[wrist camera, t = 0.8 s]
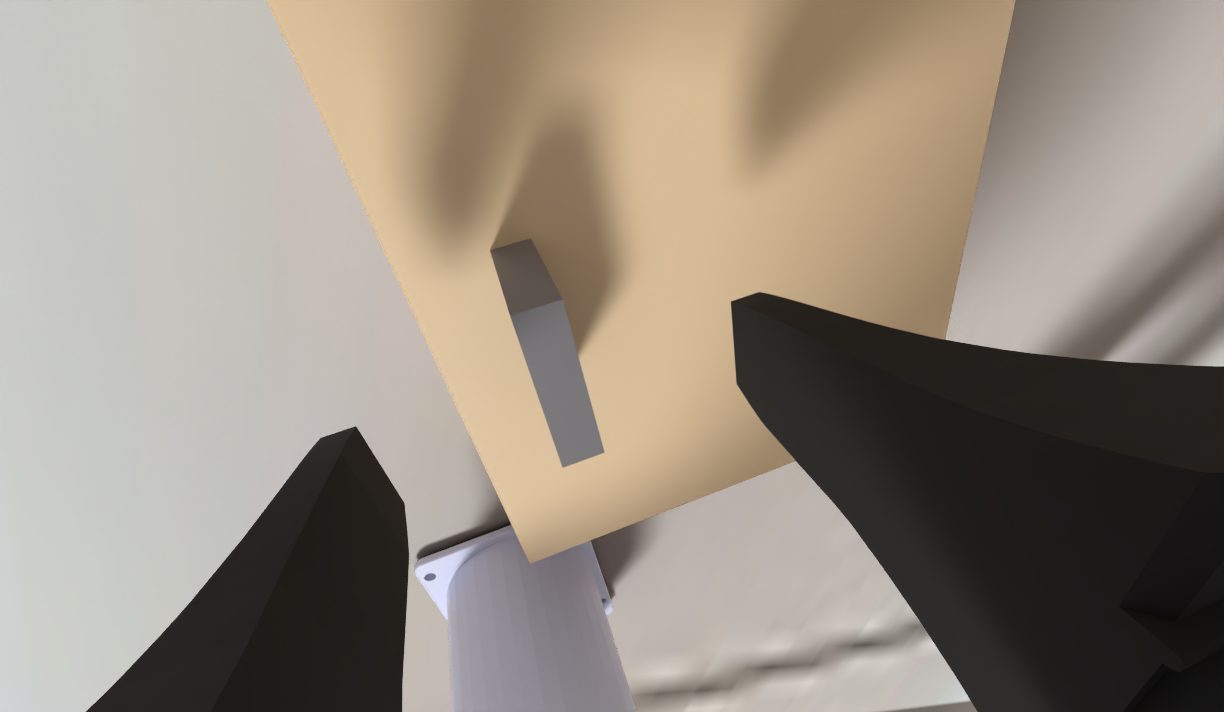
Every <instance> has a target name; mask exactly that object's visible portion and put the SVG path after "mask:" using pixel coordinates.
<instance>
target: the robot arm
mask: <svg viewBox="0 0 1224 712" xmlns="http://www.w3.org/2000/svg"><path fill="white" fill-rule="evenodd" d="M731 312H732V326H733V341H734V355H735V369H736V384H737V386H738V387H739V389H740V390H741V392H742V393H743V395H744V396H745V398H746V399H747V401H748V403H749V404H750V406H751V407H752V409H753V410H754V411H755V413H756V414H757V416H758V417H759V419H760V420H761V422H762V423H763V424H764V425H765V426H766V428H767V429H768V430H769V431H770V432H771V433H772V434H773V436H774V437H775V438H776V439H777V440H778V441H779V442H780V444H781V445H782V446H783V447H784V448H785V449H786V450H787V451H788V453H789V454H790V455H791V456H792V457H793V458H794V459H795V460H796V461H797V463H798V464H799V465H800V466H801V467H802V468H803V469H804V470H805V471H806V473H807V474H808V475H809V476H810V477H811V478H812V479H813V480H814V481H815V483H816V484H817V485H818V486H819V487H820V488H821V489H822V490H823V492H824V493H825V494H826V495H827V496H828V497H829V498H830V499H831V500H832V502H833V503H834V504H835V505H836V506H837V507H838V509H839V510H840V511H841V512H842V513H843V515H844V516H845V517H846V518H847V519H848V521H849V522H850V523H851V524H852V526H853V527H854V528H855V530H856V531H857V533H858V534H859V535H860V537H861V538H862V539H863V541H864V542H865V543H866V545H867V546H868V548H869V549H870V550H871V552H872V553H873V554H874V556H875V557H876V559H877V560H878V561H879V563H880V564H881V565H882V567H883V568H884V570H885V571H886V573H887V574H888V575H889V577H890V578H891V580H892V581H893V583H894V584H895V586H896V587H897V588H898V590H899V591H900V593H901V594H902V596H903V597H904V599H905V600H906V601H907V603H908V604H909V606H910V607H911V609H912V610H913V612H914V613H915V615H916V616H917V617H918V619H919V620H920V622H921V624H922V625H923V627H924V628H925V630H926V631H927V633H928V634H929V636H930V637H931V639H932V640H933V642H934V643H935V645H936V647H937V648H938V650H939V651H940V653H941V654H942V656H943V657H944V659H945V660H946V662H947V663H948V665H949V666H950V668H951V670H952V671H953V673H954V674H955V676H956V677H957V679H958V680H959V682H960V684H961V685H962V687H963V689H964V690H965V692H966V693H967V695H968V697H969V698H970V700H971V702H972V703H973V705H974V706H975V708H976V710H977V711H978V712H1224V367H1213V366H1186V365H1165V364H1145V363H1127V362H1114V361H1100V360H1088V359H1078V358H1069V357H1059V356H1050V355H1040V354H1031V353H1024V352H1016V351H1009V350H1002V349H996V348H990V347H984V346H978V345H972V344H966V343H960V342H954V341H949V340H944V339H939V338H934V337H929V336H925V335H920V334H916V333H912V332H908V331H903V330H899V329H895V328H891V327H887V326H883V325H879V324H875V323H871V322H868V321H864V320H860V319H857V318H853V317H849V316H846V315H842V314H839V313H835V312H832V311H829V310H825V309H822V308H818V307H815V306H811V305H808V304H805V303H801V302H798V301H794V300H791V299H787V298H783V297H780V296H776V295H772V294H767V293H762V292H758V293H755V294H752V295H749V296H746V297H743V298H740V299H737V300H734V301H731ZM408 565H409V549H408V535H407V525H406V515H405V505H404V502H403V500H402V499H401V497H400V496H399V494H398V492H397V491H396V489H395V488H394V486H393V484H392V483H391V481H390V480H389V478H388V476H387V475H386V473H385V472H384V470H383V468H382V467H381V465H380V464H379V462H378V461H377V459H376V457H375V456H374V454H373V453H372V451H371V449H370V448H369V446H368V445H367V443H366V441H365V440H364V438H363V437H362V435H361V433H360V432H359V430H358V429H357V427H353V428H350V429H347V430H344V431H341V432H338V433H335V434H332V435H329V436H326V437H323V438H320V439H319V441H318V442H317V443H316V444H315V445H314V446H313V447H312V449H311V450H310V451H309V452H308V454H307V455H306V456H305V457H304V459H303V460H302V461H301V463H300V464H299V465H298V467H297V468H296V469H295V471H294V472H293V473H292V475H291V476H290V477H289V479H288V480H287V481H286V483H285V484H284V485H283V487H282V488H281V489H280V491H279V492H278V493H277V495H276V496H275V497H274V498H273V500H272V501H271V502H270V504H269V505H268V506H267V508H266V509H265V510H264V512H263V513H262V514H261V516H260V517H259V518H258V519H257V521H256V522H255V523H254V525H253V526H252V527H251V529H250V530H249V531H248V533H247V534H246V535H245V536H244V538H243V539H242V540H241V541H240V543H239V544H238V545H237V546H236V547H235V549H234V550H233V551H232V552H231V554H230V555H229V556H228V557H227V558H226V560H225V561H224V562H223V563H222V565H221V566H220V567H219V568H218V569H217V571H216V572H215V573H214V574H213V575H212V577H211V578H210V579H209V580H208V582H207V583H206V584H205V585H204V586H203V588H202V589H201V590H200V591H199V592H198V594H197V595H196V596H195V597H194V599H193V600H192V601H191V602H190V603H189V604H188V605H187V607H186V608H185V609H184V610H183V611H182V612H181V613H180V615H179V616H178V617H177V618H176V619H175V620H174V621H173V622H172V623H171V625H170V626H169V627H168V628H167V629H166V630H165V631H164V632H163V633H162V634H161V636H160V637H159V638H158V639H157V640H156V641H155V642H154V643H153V644H152V645H151V646H150V647H149V648H148V649H147V650H146V651H145V652H144V654H143V655H142V656H141V657H140V658H139V659H138V660H137V661H136V662H135V663H134V664H133V665H132V666H131V667H130V668H129V669H128V670H127V672H126V673H125V674H124V675H123V676H122V677H121V678H120V679H119V680H118V681H117V682H116V683H115V684H114V685H113V686H112V687H111V688H110V689H109V690H108V691H107V692H106V693H105V694H104V695H103V696H102V697H101V698H100V699H99V700H98V701H97V702H96V703H95V704H93V705H92V706H91V707H90V708H89V709H88V710H87V711H86V712H402V678H403V660H404V642H405V624H406V606H407V587H408ZM414 572H415V575H416V576H417V577H418V579H419V580H420V582H421V583H422V585H423V586H424V588H425V589H426V591H427V592H428V593H429V595H430V596H431V598H432V599H433V601H434V602H435V604H436V605H437V606H438V608H439V609H440V611H441V612H442V614H443V615H444V617H445V618H446V620H447V621H448V640H449V663H450V687H451V710H452V712H637V711H636V708H635V705H634V702H633V699H632V695H631V692H630V689H629V686H628V683H627V680H626V676H625V673H624V670H623V667H622V664H621V661H620V657H619V654H618V651H617V648H616V645H615V641H614V638H613V635H612V632H611V629H610V626H609V622H608V619H607V616H606V615H608V614H610V613H611V612H612V610H613V605H612V602H611V599H610V596H609V593H608V590H607V587H606V584H605V581H604V578H603V575H602V572H601V569H600V566H599V563H598V561H597V558H596V555H595V552H594V549H593V546H592V543H591V540H590V541H588V542H585V543H582V544H580V545H577V546H575V547H572V548H570V549H567V550H564V551H562V552H559V553H557V554H554V555H551V556H549V557H546V558H544V559H541V560H539V561H536V562H533V563H531V564H530V563H529V561H528V559H527V557H526V555H525V552H524V550H523V548H522V546H521V544H520V542H519V540H518V537H517V535H516V533H515V531H514V529H513V527H512V525H509V526H507V527H504V528H501V529H498V530H496V531H493V532H490V533H488V534H485V535H482V536H480V537H477V538H474V539H472V540H469V541H466V542H464V543H461V544H458V545H456V546H453V547H450V548H448V549H445V550H442V551H440V552H437V553H434V554H432V555H429V556H426V557H424V558H421V559H419V560H418V561H417V562H416V563H415V566H414ZM429 573H431V574H429Z"/></svg>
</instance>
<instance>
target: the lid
mask: <svg viewBox="0 0 1224 712" xmlns="http://www.w3.org/2000/svg"><path fill="white" fill-rule="evenodd" d="M1015 1H1016V0H267V2H268V4H269V6H270V8H271V10H272V13H273V15H274V17H275V19H276V21H277V23H278V25H279V28H280V30H281V32H282V34H283V36H284V38H285V40H286V43H287V45H288V47H289V49H290V51H291V53H292V55H293V58H294V60H295V62H296V64H297V66H298V68H299V70H300V73H301V75H302V77H303V79H304V81H305V83H306V85H307V88H308V90H309V92H310V94H311V96H312V98H313V100H314V103H315V105H316V107H317V109H318V111H319V113H320V115H321V118H322V120H323V122H324V124H325V126H326V128H327V130H328V133H329V135H330V137H331V139H332V141H333V143H334V145H335V148H336V150H337V152H338V154H339V156H340V158H341V160H342V162H343V165H344V167H345V169H346V171H347V173H348V175H349V177H350V180H351V182H352V184H353V186H354V188H355V190H356V192H357V195H358V197H359V199H360V201H361V203H362V205H363V207H364V210H365V212H366V214H367V216H368V218H369V220H370V222H371V225H372V227H373V229H374V231H375V233H376V235H377V237H378V240H379V242H380V244H381V246H382V248H383V250H384V252H385V255H386V257H387V259H388V261H389V263H390V265H391V267H392V270H393V272H394V274H395V276H396V278H397V280H398V282H399V285H400V287H401V289H402V291H403V293H404V295H405V297H406V300H407V302H408V304H409V306H410V308H411V310H412V312H413V315H414V317H415V319H416V321H417V323H418V325H419V327H420V330H421V332H422V334H423V336H424V338H425V340H426V342H427V345H428V347H429V349H430V351H431V353H432V355H433V357H434V360H435V362H436V364H437V366H438V368H439V370H440V372H441V375H442V377H443V379H444V381H445V383H446V385H447V387H448V390H449V392H450V394H451V396H452V398H453V400H454V402H455V405H456V407H457V409H458V411H459V413H460V415H461V417H462V420H463V422H464V424H465V426H466V428H467V430H468V432H469V435H470V437H471V439H472V441H473V443H474V445H475V447H476V450H477V452H478V454H479V456H480V458H481V460H482V462H483V465H484V467H485V469H486V471H487V473H488V475H489V477H490V480H491V482H492V484H493V486H494V488H495V490H496V492H497V495H498V497H499V499H500V501H501V503H502V505H503V507H504V510H505V512H506V514H507V516H508V518H509V520H510V522H511V525H512V527H513V529H514V531H515V533H516V535H517V537H518V540H519V542H520V544H521V546H522V548H523V550H524V552H525V555H526V557H527V559H528V561H529V563H530V564H531V563H533V562H536V561H539V560H541V559H544V558H546V557H549V556H551V555H554V554H557V553H559V552H562V551H564V550H567V549H570V548H572V547H575V546H577V545H580V544H582V543H585V542H588V541H590V540H593V539H595V538H598V537H601V536H603V535H606V534H608V533H611V532H613V531H616V530H619V529H621V528H624V527H626V526H629V525H632V524H634V523H637V522H639V521H642V520H644V519H647V518H650V517H652V516H655V515H657V514H660V513H663V512H665V511H668V510H670V509H673V508H675V507H678V506H681V505H683V504H686V503H688V502H691V501H694V500H696V499H699V498H701V497H704V496H706V495H709V494H712V493H714V492H717V491H719V490H722V489H725V488H727V487H730V486H732V485H735V484H737V483H740V482H743V481H745V480H748V479H750V478H753V477H756V476H758V475H761V474H763V473H766V472H768V471H771V470H774V469H776V468H779V467H781V466H784V465H787V464H789V463H792V462H794V461H796V460H795V459H794V458H793V457H792V456H791V455H790V454H789V453H788V451H787V450H786V449H785V448H784V447H783V446H782V445H781V444H780V442H779V441H778V440H777V439H776V438H775V437H774V436H773V434H772V433H771V432H770V431H769V430H768V429H767V428H766V426H765V425H764V424H763V423H762V422H761V420H760V419H759V417H758V416H757V414H756V413H755V411H754V410H753V409H752V407H751V406H750V404H749V403H748V401H747V399H746V398H745V396H744V395H743V393H742V392H741V390H740V389H739V387H738V386H737V384H736V369H735V355H734V341H733V326H732V312H731V301H734V300H737V299H740V298H743V297H746V296H749V295H752V294H755V293H758V292H762V293H767V294H772V295H776V296H780V297H783V298H787V299H791V300H794V301H798V302H801V303H805V304H808V305H811V306H815V307H818V308H822V309H825V310H829V311H832V312H835V313H839V314H842V315H846V316H849V317H853V318H857V319H860V320H864V321H868V322H871V323H875V324H879V325H883V326H887V327H891V328H895V329H899V330H903V331H908V332H912V333H916V334H920V335H925V336H929V337H934V338H939V339H944V340H945V338H946V333H947V328H948V323H949V318H950V314H951V309H952V304H953V299H954V294H955V290H956V285H957V280H958V275H959V270H960V266H961V261H962V256H963V251H964V246H965V242H966V237H967V232H968V227H969V222H970V218H971V213H972V208H973V203H974V198H975V193H976V189H977V184H978V179H979V174H980V169H981V165H982V160H983V155H984V150H985V145H986V141H987V136H988V131H989V126H990V121H991V117H992V112H993V107H994V102H995V97H996V93H997V88H998V83H999V78H1000V73H1001V69H1002V64H1003V59H1004V54H1005V49H1006V45H1007V40H1008V35H1009V30H1010V25H1011V20H1012V16H1013V11H1014V6H1015Z"/></svg>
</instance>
